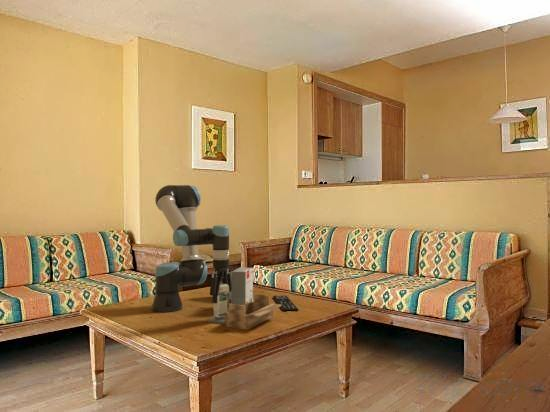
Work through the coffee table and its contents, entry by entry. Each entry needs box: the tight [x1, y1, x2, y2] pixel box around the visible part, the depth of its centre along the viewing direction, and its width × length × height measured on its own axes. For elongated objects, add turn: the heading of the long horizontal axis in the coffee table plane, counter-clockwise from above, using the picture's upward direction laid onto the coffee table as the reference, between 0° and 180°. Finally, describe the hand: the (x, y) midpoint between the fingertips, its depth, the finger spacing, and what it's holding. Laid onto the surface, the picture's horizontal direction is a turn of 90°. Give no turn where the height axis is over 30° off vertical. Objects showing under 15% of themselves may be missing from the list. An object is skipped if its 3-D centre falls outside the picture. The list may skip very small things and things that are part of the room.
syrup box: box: [213, 284, 230, 318], centre depth 203 cm, size 6×6×14 cm
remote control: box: [272, 295, 299, 313], centre depth 234 cm, size 8×32×2 cm, turn 10°
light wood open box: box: [224, 293, 282, 331], centre depth 200 cm, size 17×24×10 cm
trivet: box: [205, 315, 225, 325], centre depth 203 cm, size 10×10×1 cm
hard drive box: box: [230, 266, 254, 305], centre depth 226 cm, size 16×8×20 cm, turn 168°
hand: (221, 307), depth 203 cm, fingers closed on syrup box, 8 cm apart
